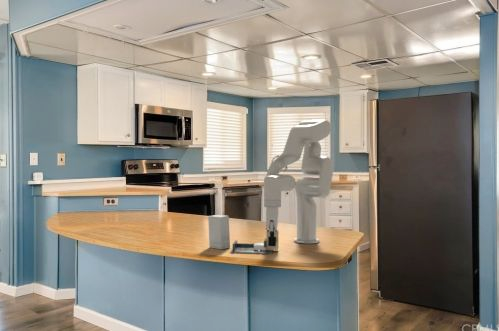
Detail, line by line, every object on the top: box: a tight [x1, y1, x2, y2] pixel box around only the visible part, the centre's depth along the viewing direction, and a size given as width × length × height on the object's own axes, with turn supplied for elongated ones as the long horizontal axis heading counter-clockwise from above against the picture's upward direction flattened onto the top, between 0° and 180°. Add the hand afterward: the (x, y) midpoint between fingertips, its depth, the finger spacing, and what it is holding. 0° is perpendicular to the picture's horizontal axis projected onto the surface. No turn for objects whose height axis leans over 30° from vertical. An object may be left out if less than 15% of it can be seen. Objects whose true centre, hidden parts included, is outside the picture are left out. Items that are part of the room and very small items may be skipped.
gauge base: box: [230, 240, 274, 255], centre depth 190 cm, size 12×18×4 cm, turn 83°
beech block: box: [266, 229, 279, 251], centre depth 189 cm, size 5×5×8 cm
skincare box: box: [207, 214, 231, 250], centre depth 195 cm, size 8×6×15 cm
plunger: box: [253, 237, 267, 252], centre depth 188 cm, size 9×6×4 cm, turn 173°
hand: (272, 244), depth 189 cm, fingers closed on beech block, 5 cm apart
